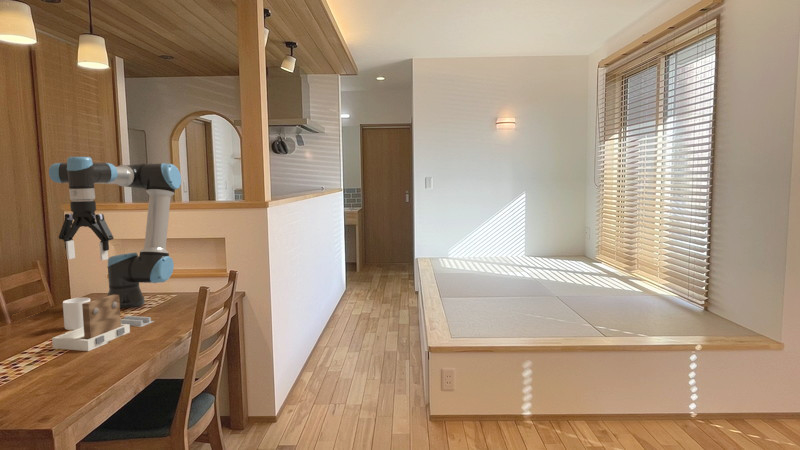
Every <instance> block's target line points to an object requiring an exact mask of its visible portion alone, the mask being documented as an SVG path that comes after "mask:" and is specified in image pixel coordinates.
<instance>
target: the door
mask: <svg viewBox="0 0 800 450" xmlns="http://www.w3.org/2000/svg"><path fill="white" fill-rule="evenodd" d="M82 309H83V324H84V339H87V340H88V339H91V338H93V337H96V336H98V335H101V334H103V333H106V332H108V331H111V330H114V329H116V328H119V327H121V319H122V318H121V308H120V300H119V295H114V294H113V295H110V296H108V295H107V296H103V297H100V298H97V299H94V300H90V302H86V303H83V304H82Z"/></svg>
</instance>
